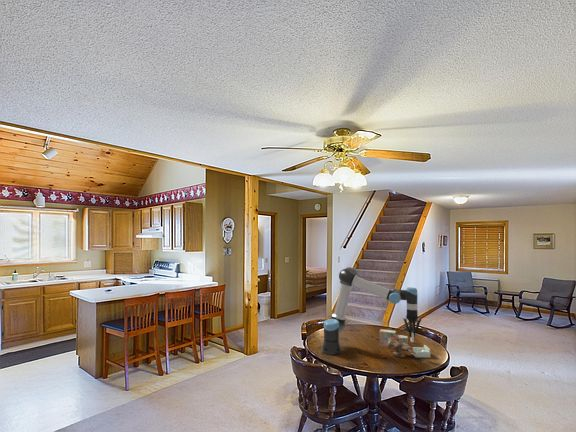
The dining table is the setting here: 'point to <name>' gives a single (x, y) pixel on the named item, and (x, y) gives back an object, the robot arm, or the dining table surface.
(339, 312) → the robot arm
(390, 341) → the mottled brown lumpy cluster
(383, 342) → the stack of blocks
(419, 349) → the pale green open box
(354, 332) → the dining table surface
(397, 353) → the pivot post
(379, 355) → the dining table surface
